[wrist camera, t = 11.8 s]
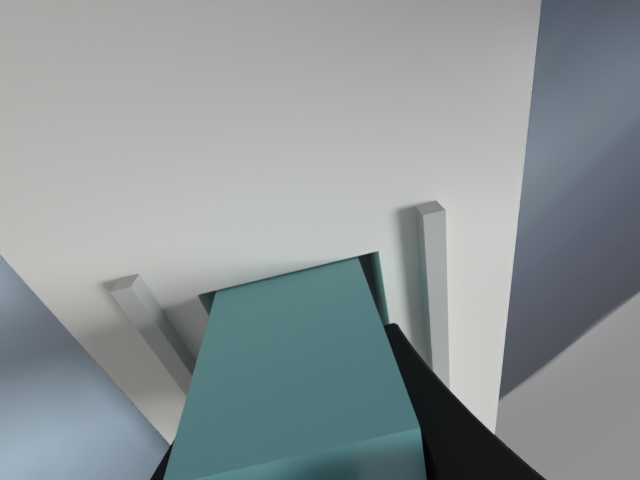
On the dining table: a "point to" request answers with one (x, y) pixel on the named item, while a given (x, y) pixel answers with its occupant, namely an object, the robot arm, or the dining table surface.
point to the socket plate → (265, 169)
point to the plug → (297, 386)
